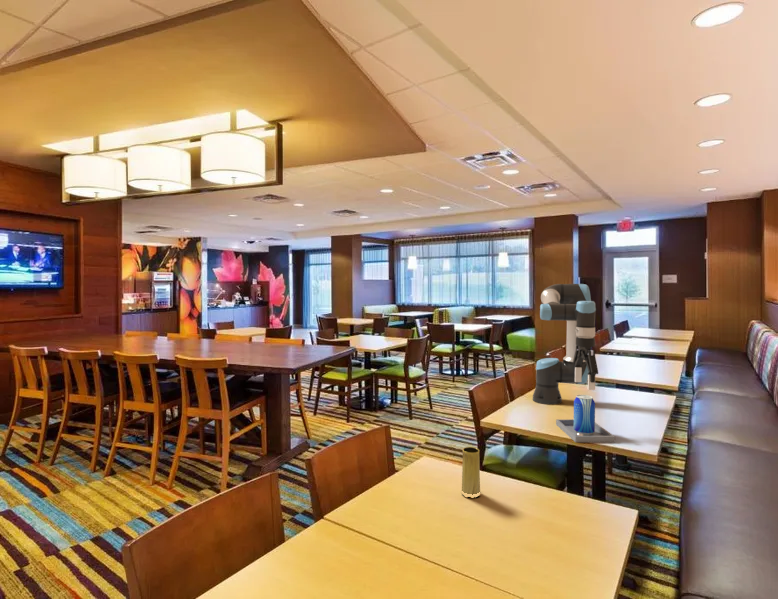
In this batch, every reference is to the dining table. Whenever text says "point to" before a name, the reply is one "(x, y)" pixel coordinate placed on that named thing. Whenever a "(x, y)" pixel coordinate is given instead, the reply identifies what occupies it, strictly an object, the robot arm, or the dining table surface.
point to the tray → (597, 436)
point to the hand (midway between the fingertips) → (584, 385)
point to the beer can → (584, 415)
